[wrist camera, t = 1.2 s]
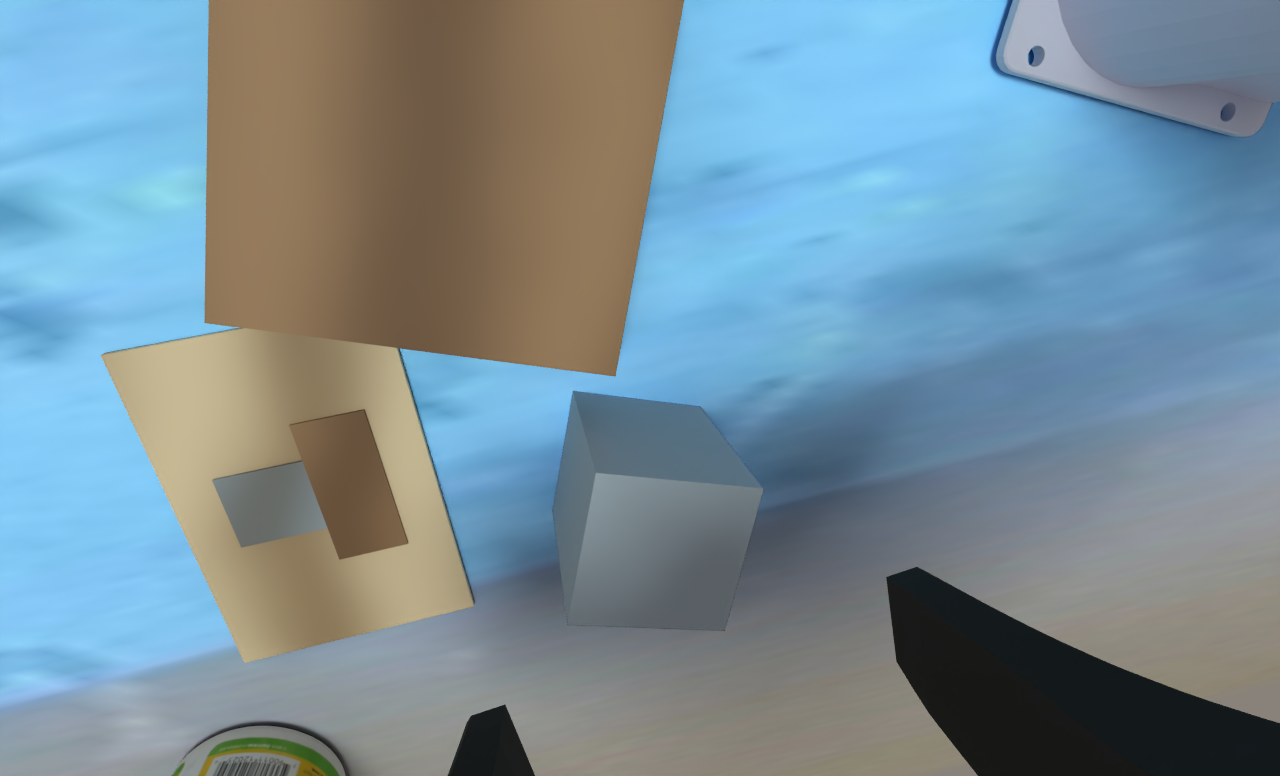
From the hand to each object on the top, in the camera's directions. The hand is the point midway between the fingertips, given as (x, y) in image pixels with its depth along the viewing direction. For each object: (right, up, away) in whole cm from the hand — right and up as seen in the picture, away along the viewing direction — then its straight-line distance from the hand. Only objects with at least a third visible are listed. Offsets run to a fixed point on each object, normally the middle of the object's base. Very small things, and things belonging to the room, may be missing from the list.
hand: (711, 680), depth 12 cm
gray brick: (-2, +3, +9) cm, 10 cm away
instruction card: (-11, +2, +7) cm, 13 cm away
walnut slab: (-6, +11, +5) cm, 14 cm away
